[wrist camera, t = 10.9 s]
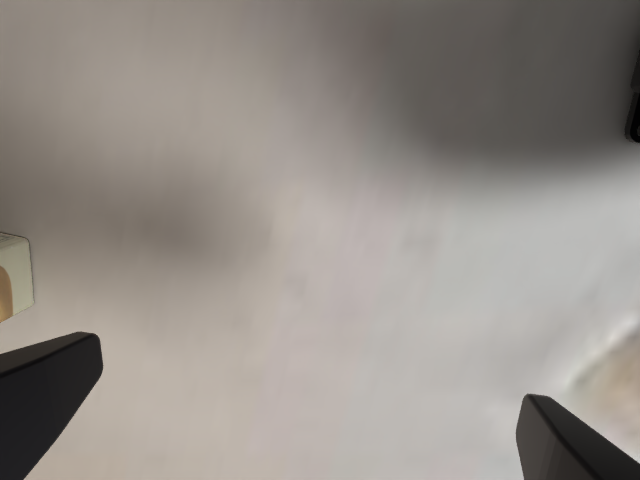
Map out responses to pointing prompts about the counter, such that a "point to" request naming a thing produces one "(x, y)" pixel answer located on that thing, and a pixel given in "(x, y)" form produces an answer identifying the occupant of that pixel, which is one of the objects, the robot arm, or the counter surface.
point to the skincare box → (14, 276)
